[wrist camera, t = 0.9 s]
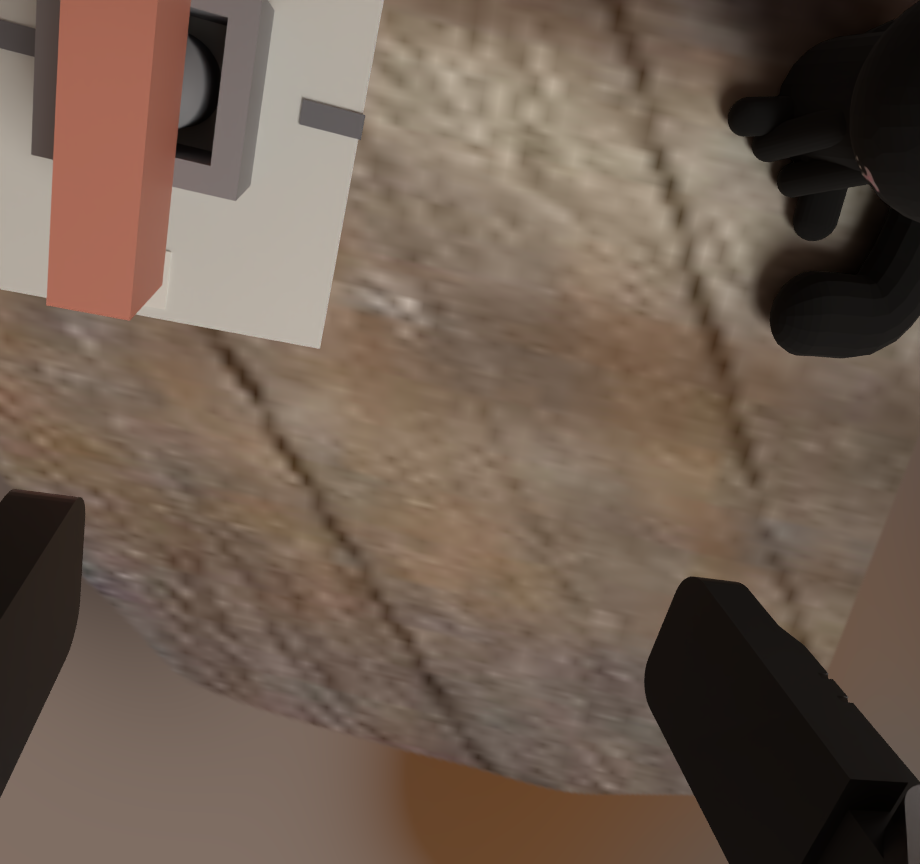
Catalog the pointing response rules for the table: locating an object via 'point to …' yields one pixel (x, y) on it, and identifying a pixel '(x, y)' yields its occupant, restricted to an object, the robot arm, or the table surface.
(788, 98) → the figurine
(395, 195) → the table surface
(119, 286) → the red bar with frame
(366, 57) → the lock board
